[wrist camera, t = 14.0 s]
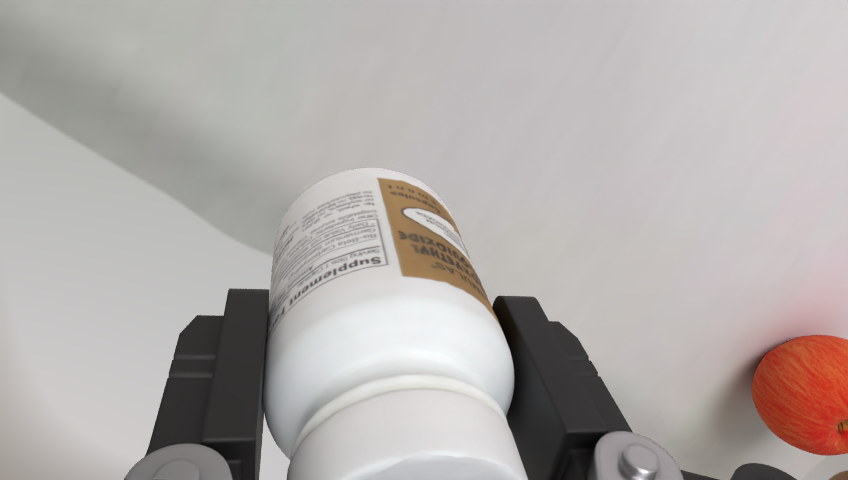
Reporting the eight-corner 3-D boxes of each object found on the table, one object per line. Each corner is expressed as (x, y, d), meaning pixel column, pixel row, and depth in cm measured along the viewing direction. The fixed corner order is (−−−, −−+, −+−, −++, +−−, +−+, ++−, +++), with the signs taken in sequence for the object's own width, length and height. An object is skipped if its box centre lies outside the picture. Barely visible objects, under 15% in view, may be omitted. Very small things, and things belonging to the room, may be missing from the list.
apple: (861, 320, 42) (965, 403, 36) (799, 402, 46) (882, 492, 39) (770, 307, 40) (862, 394, 34) (713, 394, 44) (786, 488, 37)
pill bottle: (482, 267, 16) (608, 548, 9) (335, 341, 16) (356, 659, 10) (405, 127, 13) (503, 370, 7) (237, 219, 14) (174, 530, 7)
